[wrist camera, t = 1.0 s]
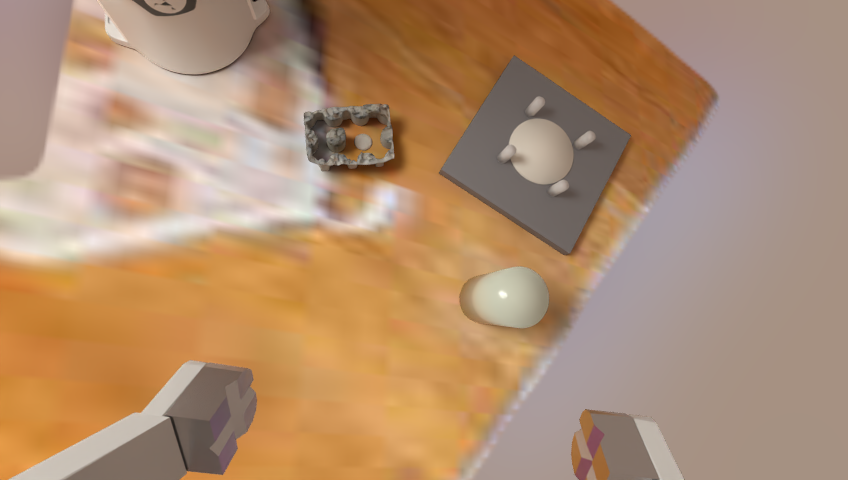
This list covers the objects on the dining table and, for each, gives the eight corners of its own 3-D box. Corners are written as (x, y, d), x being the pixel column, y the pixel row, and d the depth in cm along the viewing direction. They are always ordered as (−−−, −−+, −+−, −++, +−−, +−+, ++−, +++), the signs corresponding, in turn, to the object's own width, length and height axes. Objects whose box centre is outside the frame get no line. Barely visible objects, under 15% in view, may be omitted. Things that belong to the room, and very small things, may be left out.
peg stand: (438, 173, 53) (446, 161, 49) (509, 61, 58) (522, 41, 54) (564, 255, 55) (582, 250, 50) (624, 139, 59) (645, 126, 55)
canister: (453, 284, 52) (482, 277, 40) (495, 269, 53) (536, 258, 41) (468, 330, 51) (503, 337, 39) (511, 314, 52) (557, 316, 41)
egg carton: (389, 117, 54) (392, 102, 50) (393, 172, 53) (396, 161, 49) (305, 116, 52) (302, 100, 48) (307, 173, 51) (304, 162, 47)
